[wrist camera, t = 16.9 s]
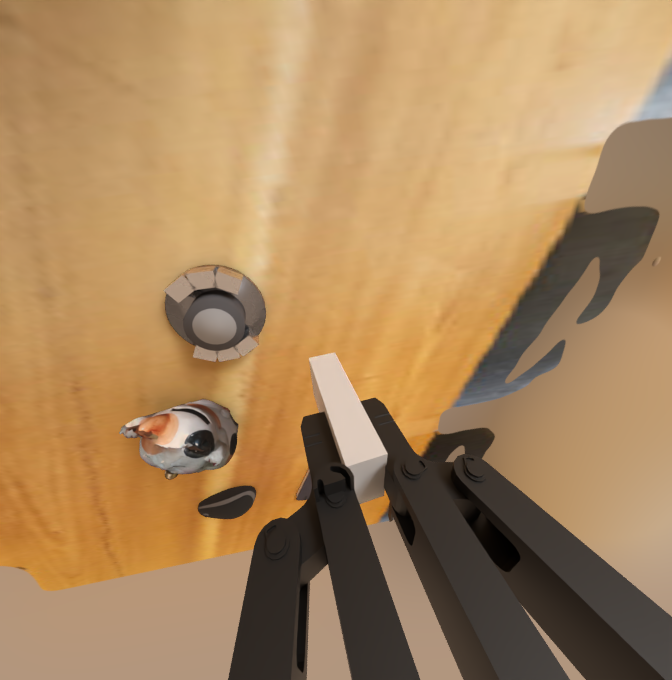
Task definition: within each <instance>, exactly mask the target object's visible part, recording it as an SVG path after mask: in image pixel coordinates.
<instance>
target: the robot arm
mask: <svg viewBox="0 0 672 680" xmlns="http://www.w3.org/2000/svg"><path fill="white" fill-rule="evenodd" d="M309 363H310V370H311V377H312V385H313V392H314V396H315V400H316V403H317V406H318V410H319V413H317V414H313V415H309V416H305V417H303V420H302V424H301V431H302V436H303V441H304V447H305V452H306V456H307V461H308V466H309V471H310V476H311V481H312V489H311V494H310V496H309V498H308V500H307V501H306V503H305V504H304V505H303V506H302V507H301V508H300V509H299V510H298V511H297V512H295V513H294V514H293V515H291V516H290V517H289V518H288V519H285V518H278V519H275V520H272V521H271V522H269V523H268V524H267V525H265V526H264V527H263V529H262V530H261V532H260V533H259V534H258V537H257V540H256V542H255V545H254V550H253V556H252V560H251V565H250V571H249V576H248V581H247V586H246V591H245V596H244V601H243V606H242V611H241V617H240V622H239V627H238V632H237V638H236V642H235V648H234V653H233V658H232V663H231V668H230V673H229V678H228V680H306V678H307V677H306V676H307V650H308V620H309V618H308V617H309V591H310V580H311V579H312V578H314V577H315V575H316V574H318V573H319V572H320V571H321V570H322V569H323V568H324V567H325V566H326V565H327V564H328V565H329V570H330V575H331V580H332V585H333V590H334V595H335V600H336V605H337V610H338V615H339V619H340V624H341V629H342V634H343V639H344V644H345V649H346V654H347V659H348V664H349V668H350V673H351V678H352V680H420V678H419V675H418V672H417V669H416V666H415V663H414V660H413V658H412V655H411V652H410V649H409V646H408V643H407V640H406V637H405V634H404V631H403V629H402V626H401V623H400V620H399V617H398V614H397V611H396V609H395V605H394V602H393V600H392V597H391V594H390V591H389V588H388V585H387V582H386V580H385V577H384V574H383V571H382V568H381V565H380V562H379V559H378V556H377V554H376V551H375V548H374V545H373V542H372V539H371V536H370V533H369V530H368V527H367V525H366V522H365V519H364V516H363V513H362V510H361V507H360V504H361V503H364V502H367V501H370V500H373V499H375V498H378V497H381V496H384V489H385V491H386V493H387V495H388V497H389V500H390V504H389V512H388V516H389V520H390V521H392V520H393V518H394V520H395V522H396V525H397V527H398V529H399V532H400V534H401V536H402V539H403V541H404V543H405V546H406V548H407V550H408V552H409V554H410V557H411V559H412V562H413V564H414V566H415V569H416V571H417V573H418V575H419V578H420V580H421V582H422V585H423V587H424V589H425V592H426V594H427V596H428V599H429V601H430V603H431V605H432V608H433V610H434V612H435V615H436V617H437V619H438V622H439V624H440V626H441V629H442V631H443V633H444V636H445V638H446V640H447V642H448V645H449V647H450V649H451V652H452V654H453V656H454V659H455V661H456V663H457V666H458V668H459V670H460V673H461V675H462V677H463V679H464V680H570V679H569V678H568V676H567V675H566V673H565V671H564V670H563V668H562V667H561V665H560V664H559V662H558V661H557V659H556V658H555V656H554V655H553V653H552V652H551V650H550V649H549V647H548V645H547V644H546V642H545V641H544V639H543V638H542V636H541V635H540V633H539V632H538V630H537V629H536V627H535V626H534V624H533V622H532V621H531V619H530V618H529V616H528V615H527V613H526V612H525V610H524V609H523V607H524V608H525V609H526V610H527V612H528V613H529V614H530V615H531V616H532V617H533V619H534V620H535V621H536V622H537V623H538V625H539V626H540V627H541V628H542V629H543V630H544V631H545V633H546V634H547V635H548V636H549V637H550V638H551V640H552V641H553V642H554V643H555V644H556V645H557V647H559V649H560V650H561V651H562V652H563V654H564V655H565V656H566V657H567V658H568V659H569V661H570V662H571V663H572V664H573V665H574V666H575V668H576V669H577V670H578V671H579V672H580V673H581V675H582V676H583V677H584V678H585V679H586V680H672V617H671V616H670V615H669V614H668V613H666V612H665V611H664V610H663V609H662V608H660V607H659V606H658V605H657V604H656V603H654V602H653V601H652V600H651V599H650V598H648V597H647V596H646V595H645V594H644V593H642V592H641V591H640V590H639V589H638V588H636V587H635V586H634V585H633V584H632V583H631V582H629V581H628V580H627V579H626V578H625V577H623V576H622V575H621V574H620V573H618V572H617V571H616V570H615V569H614V568H612V567H611V566H610V565H609V564H608V563H607V562H605V561H604V560H603V559H602V558H601V557H599V556H598V555H597V554H596V553H595V552H593V551H592V550H591V549H590V548H589V547H587V546H586V545H585V544H584V543H583V542H581V541H580V540H579V539H578V538H577V537H575V536H574V535H573V534H572V533H571V532H569V531H568V530H567V529H566V528H565V527H563V526H562V525H561V524H560V523H559V522H557V521H556V520H555V519H554V518H553V517H551V516H550V515H549V514H548V513H546V512H545V511H544V510H543V509H542V508H540V507H539V506H538V505H537V504H536V503H535V502H534V501H532V500H531V499H530V498H529V497H528V496H526V495H525V494H524V493H523V492H522V491H520V490H519V489H518V488H517V487H516V486H514V485H513V484H512V483H511V482H509V481H508V480H507V479H506V478H505V477H504V476H502V475H501V474H500V473H499V472H498V471H496V470H495V469H494V468H493V467H492V466H490V465H489V464H488V463H487V462H485V461H484V460H482V459H481V458H479V457H477V456H474V455H471V454H463V455H460V456H458V457H457V458H456V460H455V461H454V462H433V461H429V460H426V459H424V458H422V457H421V456H419V455H417V454H416V453H415V452H414V451H413V449H412V448H411V447H410V445H409V443H408V442H407V440H406V439H405V437H404V435H403V434H402V432H401V431H400V429H399V428H398V426H397V424H396V423H395V422H394V420H393V418H392V416H391V415H390V414H389V412H388V410H387V408H386V407H385V405H384V404H383V403H382V402H380V401H379V400H378V399H376V398H372V399H368V400H364V401H360V400H359V398H358V396H357V394H356V392H355V390H354V388H353V386H352V385H351V383H350V381H349V379H348V377H347V375H346V373H345V371H344V369H343V367H342V365H341V363H340V362H339V360H338V358H337V356H336V354H335V353H330V354H326V355H321V356H316V357H311V358H309ZM519 602H520V603H519ZM521 605H522V606H523V607H522V606H521Z"/></svg>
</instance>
